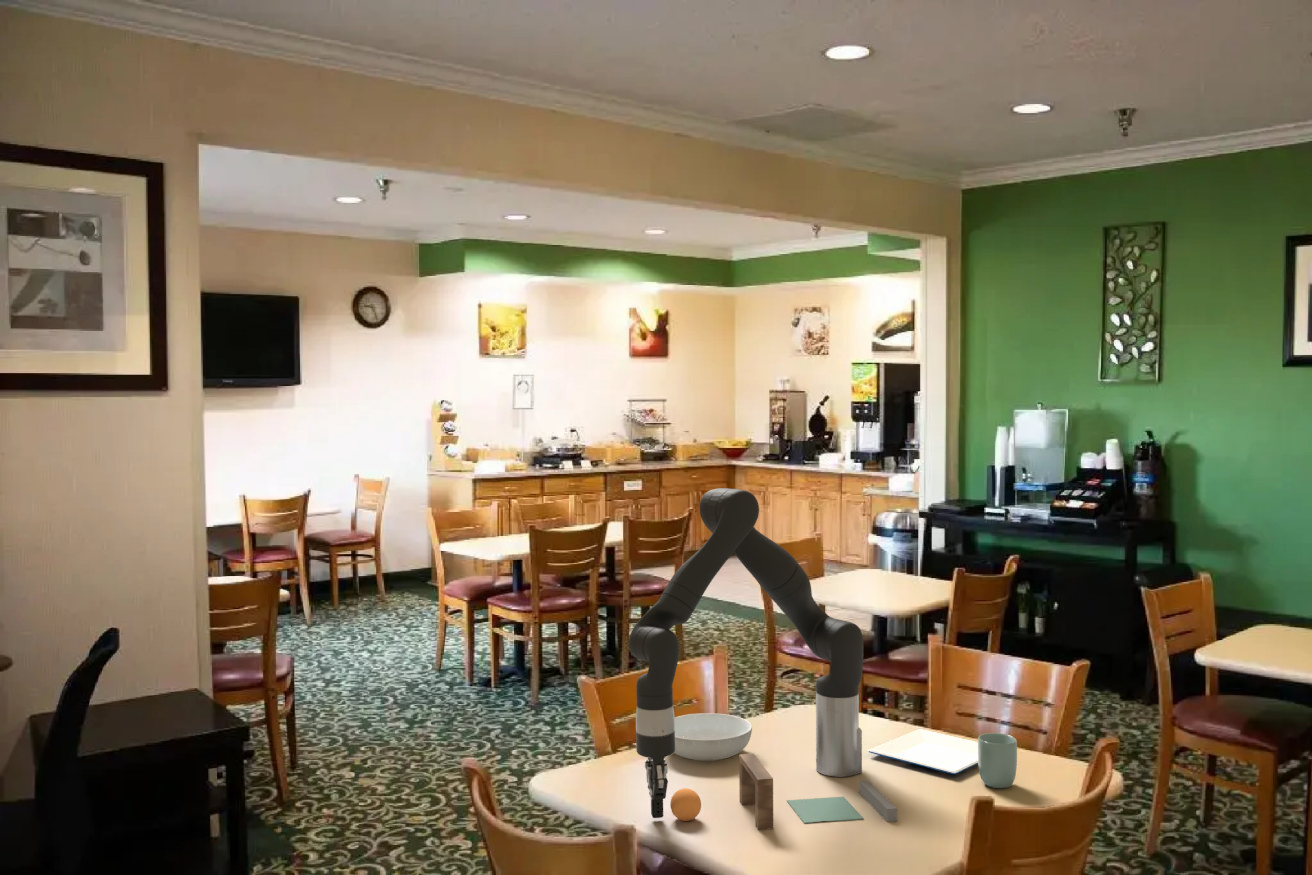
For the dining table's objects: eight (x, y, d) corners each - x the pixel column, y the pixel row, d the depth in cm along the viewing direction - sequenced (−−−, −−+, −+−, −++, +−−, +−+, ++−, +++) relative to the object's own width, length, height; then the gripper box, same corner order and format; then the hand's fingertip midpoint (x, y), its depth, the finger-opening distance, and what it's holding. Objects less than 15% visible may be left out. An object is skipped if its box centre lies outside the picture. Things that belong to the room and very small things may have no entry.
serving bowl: (685, 736, 270) (685, 708, 269) (765, 748, 260) (765, 719, 260) (645, 761, 251) (644, 731, 251) (729, 775, 241) (729, 744, 241)
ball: (698, 812, 219) (697, 782, 219) (704, 824, 214) (703, 793, 213) (668, 815, 219) (667, 784, 218) (673, 826, 213) (673, 795, 212)
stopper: (868, 792, 230) (868, 780, 230) (897, 820, 214) (897, 808, 214) (859, 792, 230) (859, 780, 230) (887, 821, 214) (887, 808, 214)
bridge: (753, 800, 226) (753, 753, 226) (773, 828, 211) (773, 778, 211) (739, 801, 225) (739, 754, 225) (758, 829, 211) (757, 779, 210)
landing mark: (843, 797, 227) (843, 796, 227) (863, 819, 216) (863, 818, 216) (786, 801, 225) (786, 800, 225) (804, 823, 214) (804, 822, 214)
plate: (1005, 756, 253) (1005, 747, 253) (955, 781, 237) (955, 772, 237) (919, 736, 269) (919, 727, 268) (866, 758, 253) (866, 749, 253)
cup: (972, 779, 237) (972, 733, 237) (1007, 778, 238) (1007, 732, 238) (986, 792, 230) (986, 744, 229) (1022, 791, 230) (1022, 743, 230)
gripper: (680, 737, 209) (682, 828, 210) (668, 717, 222) (670, 802, 223) (640, 740, 208) (642, 831, 209) (631, 719, 221) (633, 805, 222)
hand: (657, 816), depth 216 cm, fingers closed
